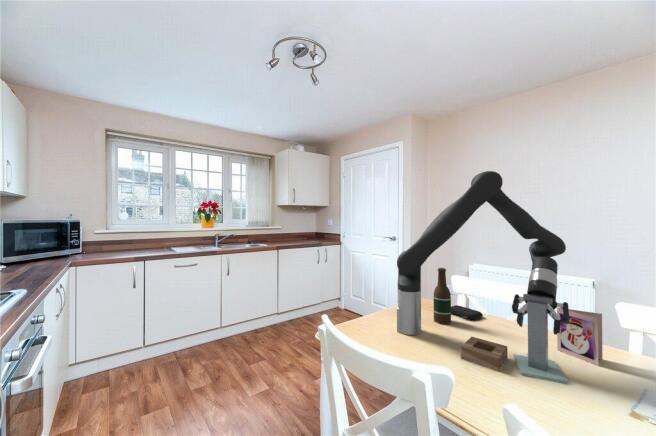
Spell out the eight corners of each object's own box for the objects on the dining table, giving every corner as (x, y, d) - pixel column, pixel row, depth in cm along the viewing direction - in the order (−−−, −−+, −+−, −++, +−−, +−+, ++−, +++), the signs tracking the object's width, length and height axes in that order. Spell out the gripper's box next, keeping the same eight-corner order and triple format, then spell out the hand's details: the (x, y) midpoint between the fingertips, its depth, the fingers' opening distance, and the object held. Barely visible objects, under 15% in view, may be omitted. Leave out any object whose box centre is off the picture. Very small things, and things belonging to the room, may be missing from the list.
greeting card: (555, 350, 96) (555, 307, 96) (569, 346, 99) (568, 305, 99) (596, 366, 86) (596, 318, 86) (610, 362, 88) (610, 315, 88)
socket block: (471, 347, 99) (471, 336, 99) (507, 358, 91) (507, 346, 91) (460, 358, 91) (460, 346, 91) (498, 371, 83) (498, 358, 83)
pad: (521, 374, 81) (521, 372, 81) (513, 356, 92) (513, 354, 92) (568, 384, 77) (568, 381, 77) (554, 363, 88) (554, 360, 88)
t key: (525, 359, 89) (525, 292, 89) (553, 367, 84) (552, 297, 84) (523, 364, 86) (522, 295, 86) (551, 373, 81) (551, 300, 81)
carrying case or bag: (442, 313, 136) (471, 323, 123) (442, 307, 136) (471, 316, 123) (456, 309, 141) (484, 318, 128) (456, 303, 141) (484, 312, 128)
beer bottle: (454, 324, 120) (454, 270, 120) (437, 324, 120) (436, 270, 120) (447, 318, 128) (446, 266, 128) (430, 318, 128) (430, 266, 128)
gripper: (515, 275, 95) (507, 317, 87) (569, 282, 85) (567, 329, 77) (518, 288, 99) (511, 329, 91) (571, 295, 89) (568, 342, 81)
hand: (537, 329), depth 84 cm, fingers open, 8 cm apart
